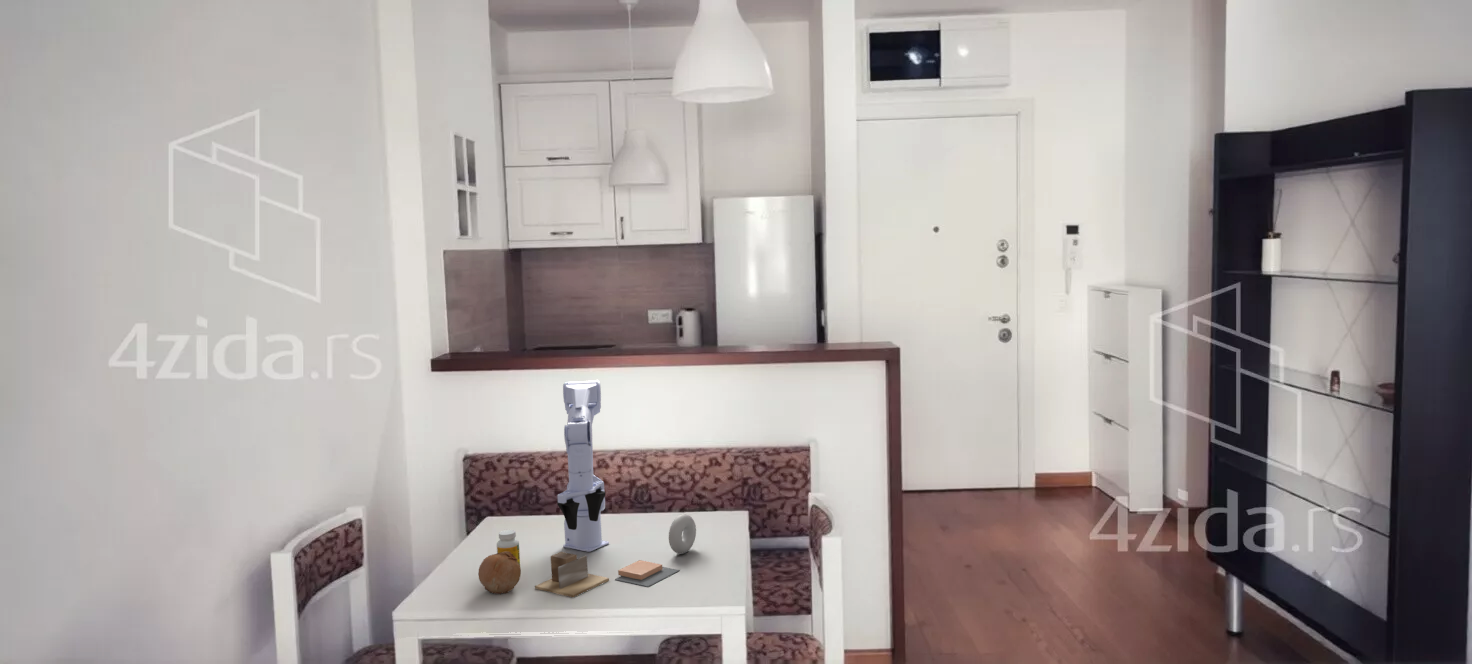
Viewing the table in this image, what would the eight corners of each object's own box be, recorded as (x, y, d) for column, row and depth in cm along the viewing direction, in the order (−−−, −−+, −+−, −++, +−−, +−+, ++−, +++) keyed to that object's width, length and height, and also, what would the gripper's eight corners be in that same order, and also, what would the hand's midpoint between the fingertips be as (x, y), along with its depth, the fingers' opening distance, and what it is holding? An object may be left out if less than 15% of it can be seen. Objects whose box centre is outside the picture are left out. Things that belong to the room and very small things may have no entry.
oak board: (535, 588, 213) (534, 585, 213) (571, 572, 223) (571, 569, 222) (573, 597, 206) (573, 595, 206) (608, 580, 216) (608, 578, 216)
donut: (678, 560, 229) (676, 520, 228) (666, 558, 230) (664, 519, 229) (699, 548, 237) (698, 510, 236) (688, 546, 239) (686, 508, 238)
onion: (515, 598, 215) (531, 557, 217) (505, 602, 206) (522, 559, 207) (477, 584, 215) (494, 543, 217) (466, 588, 206) (483, 545, 208)
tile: (618, 570, 218) (641, 575, 214) (639, 560, 225) (662, 564, 221) (618, 575, 218) (641, 580, 214) (639, 565, 225) (662, 570, 221)
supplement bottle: (496, 568, 227) (493, 531, 226) (517, 565, 229) (515, 527, 229) (500, 575, 222) (498, 536, 221) (522, 571, 225) (520, 533, 224)
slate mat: (614, 579, 216) (614, 579, 216) (646, 564, 226) (646, 563, 226) (648, 587, 211) (648, 586, 211) (679, 570, 221) (679, 570, 221)
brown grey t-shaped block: (543, 584, 213) (542, 559, 213) (570, 572, 221) (569, 548, 220) (561, 588, 210) (559, 563, 210) (587, 576, 218) (586, 551, 217)
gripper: (571, 478, 216) (574, 535, 218) (612, 465, 228) (615, 519, 230) (550, 475, 220) (553, 531, 221) (591, 463, 232) (593, 515, 233)
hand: (583, 524), depth 226 cm, fingers open, 7 cm apart
